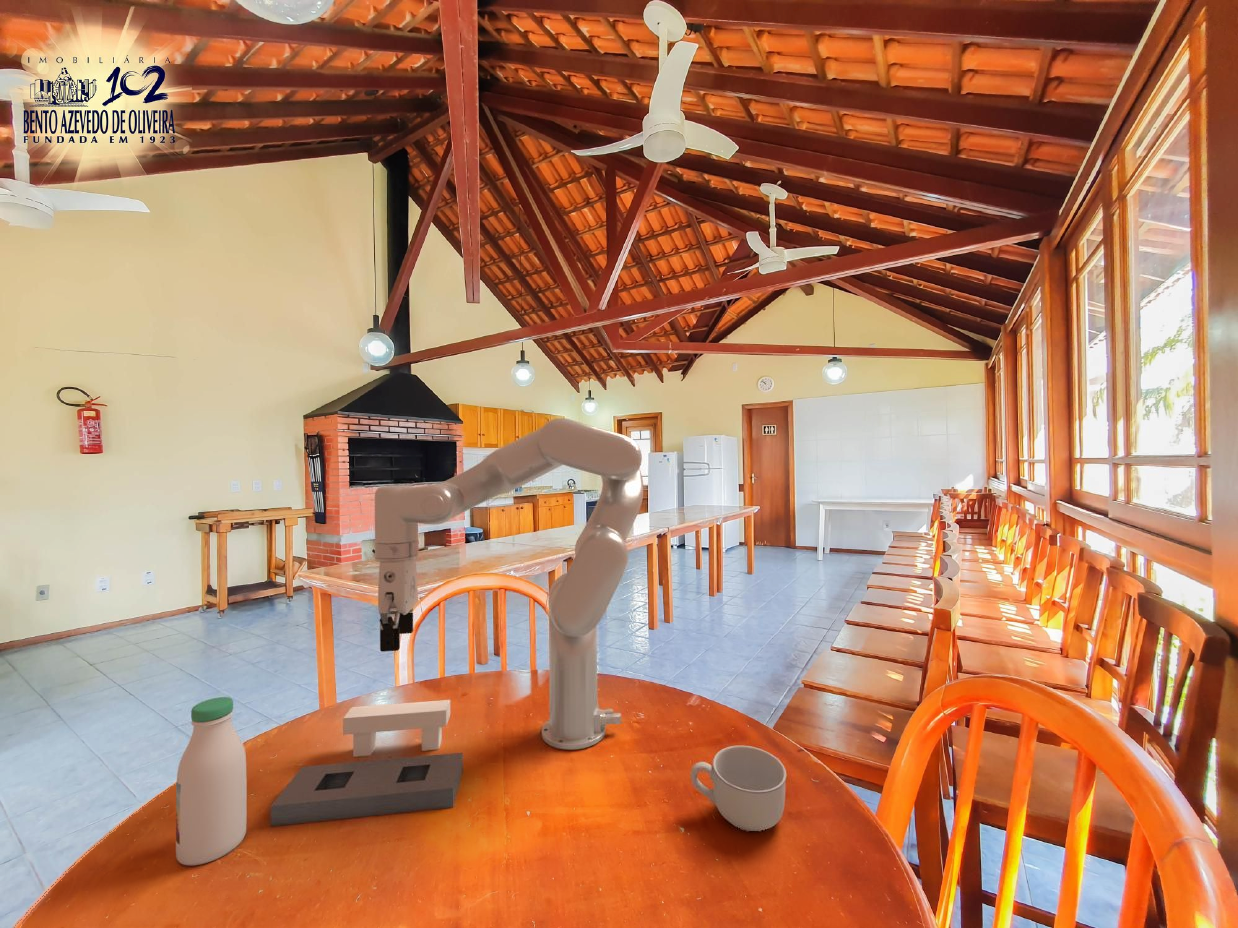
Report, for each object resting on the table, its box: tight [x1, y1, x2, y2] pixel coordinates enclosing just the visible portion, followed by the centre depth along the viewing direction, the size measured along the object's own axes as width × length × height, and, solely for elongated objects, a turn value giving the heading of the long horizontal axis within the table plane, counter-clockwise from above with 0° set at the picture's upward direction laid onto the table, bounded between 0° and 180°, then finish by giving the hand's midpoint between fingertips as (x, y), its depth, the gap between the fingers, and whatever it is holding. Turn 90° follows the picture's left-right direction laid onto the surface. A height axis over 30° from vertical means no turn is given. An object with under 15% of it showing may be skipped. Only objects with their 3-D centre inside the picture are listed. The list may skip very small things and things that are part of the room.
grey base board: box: [269, 752, 464, 827], centre depth 82 cm, size 26×10×3 cm, turn 99°
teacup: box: [690, 745, 787, 832], centre depth 77 cm, size 14×11×8 cm
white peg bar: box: [342, 699, 451, 758], centre depth 96 cm, size 18×4×8 cm, turn 99°
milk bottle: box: [175, 696, 248, 867], centre depth 71 cm, size 8×8×20 cm
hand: (397, 641), depth 96 cm, fingers open, 9 cm apart
